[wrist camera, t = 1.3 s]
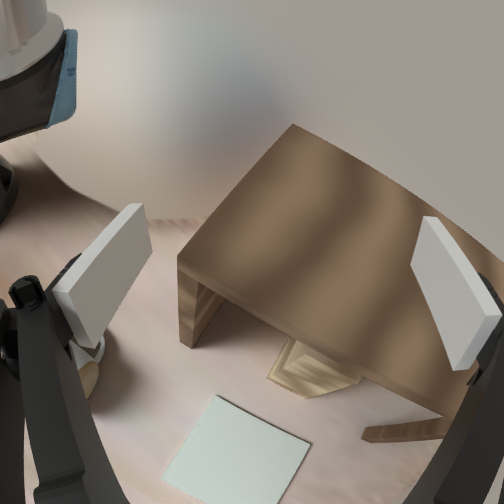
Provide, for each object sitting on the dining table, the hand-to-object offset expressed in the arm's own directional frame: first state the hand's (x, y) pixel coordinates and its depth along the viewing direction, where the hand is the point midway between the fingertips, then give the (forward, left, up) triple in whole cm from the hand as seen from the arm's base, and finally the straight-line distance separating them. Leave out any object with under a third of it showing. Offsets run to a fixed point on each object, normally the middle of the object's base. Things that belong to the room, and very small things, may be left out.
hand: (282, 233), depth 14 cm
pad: (+8, -10, -23) cm, 26 cm away
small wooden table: (+8, +6, -23) cm, 25 cm away
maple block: (+8, +2, -23) cm, 24 cm away
